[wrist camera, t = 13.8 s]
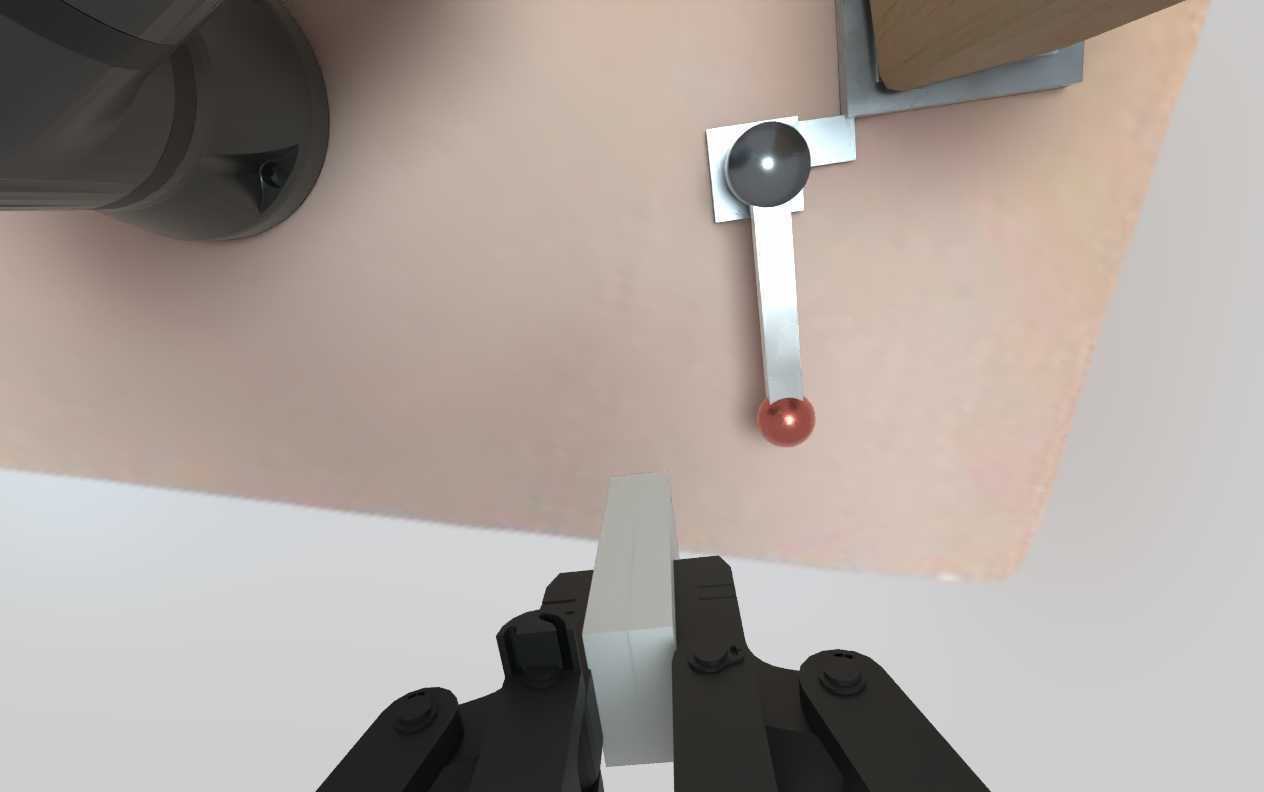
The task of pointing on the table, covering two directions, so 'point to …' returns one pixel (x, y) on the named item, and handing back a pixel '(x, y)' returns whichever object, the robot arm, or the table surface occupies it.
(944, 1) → the wooden block
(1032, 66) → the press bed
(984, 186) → the table surface
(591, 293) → the table surface
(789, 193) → the lever
